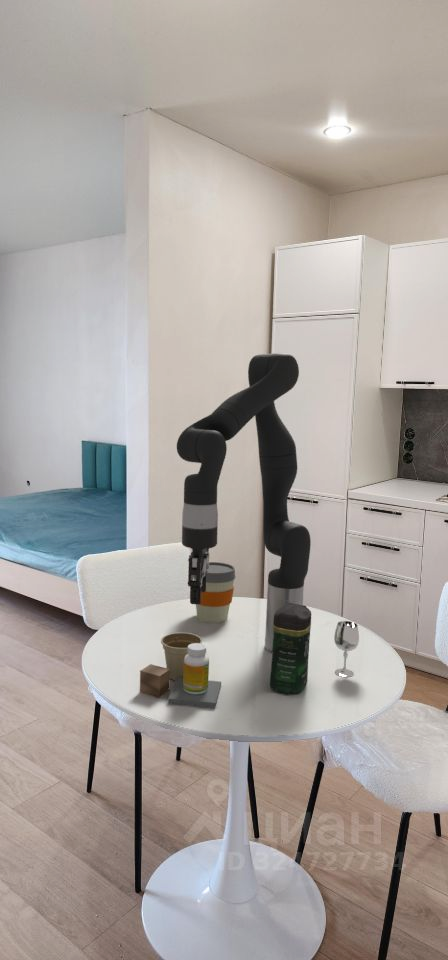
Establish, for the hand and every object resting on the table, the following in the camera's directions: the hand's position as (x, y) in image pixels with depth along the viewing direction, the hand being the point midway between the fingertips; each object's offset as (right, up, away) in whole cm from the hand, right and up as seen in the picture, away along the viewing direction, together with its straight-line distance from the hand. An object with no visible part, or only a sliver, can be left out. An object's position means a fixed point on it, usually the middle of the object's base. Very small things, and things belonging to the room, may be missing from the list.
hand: (198, 597), depth 137 cm
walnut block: (-10, -21, +1) cm, 23 cm away
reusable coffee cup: (+2, -15, +49) cm, 51 cm away
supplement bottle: (-1, -20, 0) cm, 20 cm away
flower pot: (-5, -20, +9) cm, 23 cm away
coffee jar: (+20, -21, +6) cm, 30 cm away
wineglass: (+34, -21, +14) cm, 43 cm away
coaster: (-1, -21, 0) cm, 21 cm away
